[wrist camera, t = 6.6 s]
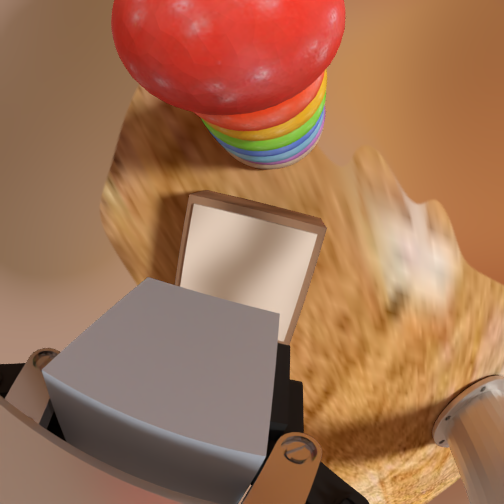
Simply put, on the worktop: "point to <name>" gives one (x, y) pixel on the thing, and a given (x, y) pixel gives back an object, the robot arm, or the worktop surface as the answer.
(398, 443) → the worktop surface
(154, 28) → the stacking toy
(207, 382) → the grey block
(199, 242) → the walnut tray
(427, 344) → the worktop surface
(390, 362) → the worktop surface
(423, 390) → the worktop surface
